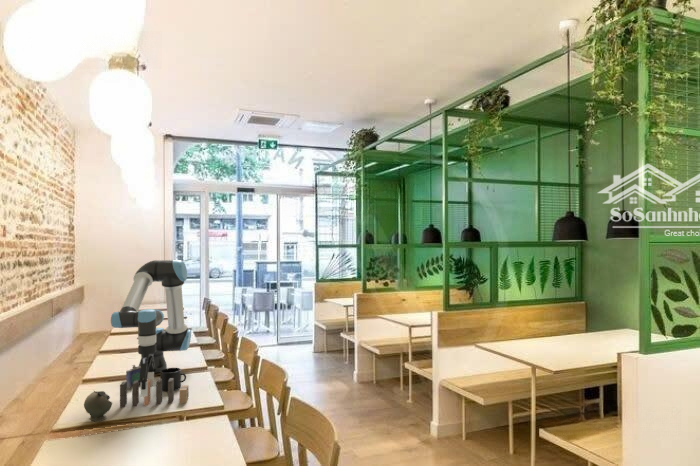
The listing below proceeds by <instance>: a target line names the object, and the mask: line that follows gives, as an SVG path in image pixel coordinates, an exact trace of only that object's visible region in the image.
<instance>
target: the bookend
mask: <svg viewBox="0 0 700 466" xmlns="http://www.w3.org/2000/svg"><path fill="white" fill-rule="evenodd" d="M178 390H179V400H178V402H179V403H180V404H186V402H188V399H189V398H188V397H189V393H190V392H189V384H183V385H182V384H181V387H180V388H179V389H178ZM179 403H178V404H179Z"/></svg>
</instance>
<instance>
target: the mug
mask: <svg viewBox="0 0 700 466" xmlns="http://www.w3.org/2000/svg"><path fill="white" fill-rule="evenodd" d="M181 370H182V369H181V368H180V367H167V369H163V370H161V372H160V379H162V392H168V381H169V379H170V378H174V391H177V390H180V388H181V386H182V383H184V382H185V381H186V380H187V375H186V373H183V372H182V371H181ZM182 376H184V379H183V380H182Z"/></svg>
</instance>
